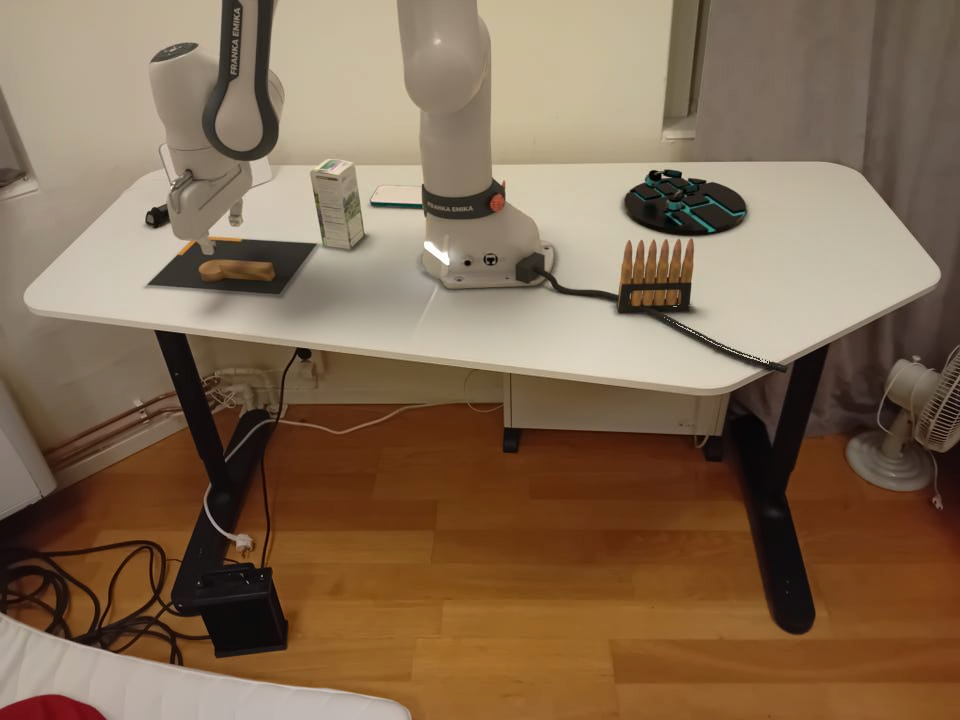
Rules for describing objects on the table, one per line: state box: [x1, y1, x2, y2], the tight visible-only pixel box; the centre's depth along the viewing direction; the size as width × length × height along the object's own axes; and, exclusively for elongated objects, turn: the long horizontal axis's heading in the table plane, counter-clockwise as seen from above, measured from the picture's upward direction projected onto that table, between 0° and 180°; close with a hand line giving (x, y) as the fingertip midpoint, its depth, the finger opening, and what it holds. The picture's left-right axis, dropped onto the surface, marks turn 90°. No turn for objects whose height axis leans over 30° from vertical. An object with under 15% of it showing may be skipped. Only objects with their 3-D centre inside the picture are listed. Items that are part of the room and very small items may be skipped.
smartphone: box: [369, 184, 423, 209], centre depth 148 cm, size 8×1×16 cm
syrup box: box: [309, 158, 365, 250], centre depth 131 cm, size 6×6×14 cm
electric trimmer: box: [144, 202, 170, 229], centre depth 148 cm, size 4×16×3 cm, turn 142°
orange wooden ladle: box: [199, 260, 275, 282], centre depth 126 cm, size 13×5×3 cm, turn 78°
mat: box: [147, 236, 318, 296], centre depth 130 cm, size 24×17×1 cm
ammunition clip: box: [616, 237, 695, 314], centre depth 110 cm, size 11×2×12 cm, turn 88°
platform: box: [623, 168, 747, 236], centre depth 138 cm, size 22×22×6 cm
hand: (224, 238), depth 122 cm, fingers open, 8 cm apart
